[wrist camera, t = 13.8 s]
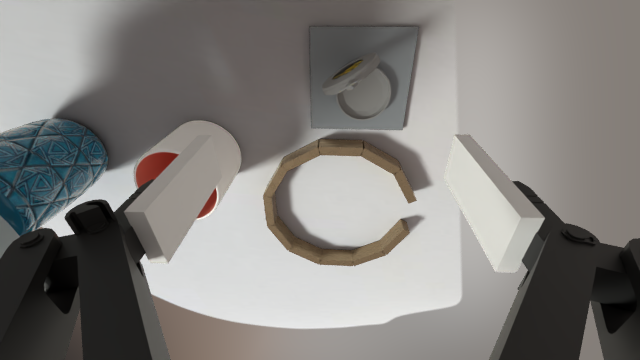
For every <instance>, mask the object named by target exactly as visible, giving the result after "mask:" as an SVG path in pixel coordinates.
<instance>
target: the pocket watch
mask: <svg viewBox="0 0 640 360" xmlns="http://www.w3.org/2000/svg"><path fill="white" fill-rule="evenodd" d="M379 62H380V58H379V56H378V55H377V54H376V53H369V54H366V55H364V56H361V57H359V58H357V59H355V60H353V61H352V62H350V63H349V64H347V65H345V66H344V67H342V68H341V69H339V70H338V71H337V72H335V73H334V74H333V75H332V76H330V77H329V78H328V79H327V80H326V81H325V82H324V84H323V85H322V91H323V92H324V94H325V95H334V94H336V101H337V104H338V106H339V108H340V110H341V111H342V112H343V113H344V114H345V115H346V116H348V117H349V118H352V119H354V120H359V121H363V120H370V119H373V118H375V117H377V116H378V115H380V114H381V113H382V112H383V111H384V110H385V108H386V107H387V106H388V103H389V101H390V98H391V84H390V81H389V79H388V78H387V76H386V75H385V73H384V72H383V71H381V70H380V69H379V68H377V66H378V64H379Z"/></svg>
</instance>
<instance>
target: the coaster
mask: <svg viewBox="0 0 640 360" xmlns="http://www.w3.org/2000/svg"><path fill="white" fill-rule="evenodd" d="M418 29H419V27H343V26H310V27H309V31H310V81H311V128H324V129H370V130H403V123H404V117H405V111H406V105H407V98H408V92H409V86H410V80H411V73H412V67H413V61H414V54H415V48H416V42H417V36H418ZM369 53H376V54H377V55H378V56H379V58H380V62H379V64H378V66H377V68H379V69H380V70H381V71H383V72H384V73H385V75H386V76H387V78H388V79H389V81H390V84H391V98H390V101H389V103H388V106H387V107H386V108H385V110H384V111H383V112H382V113H381V114H380V115H378V116H377V117H375V118H373V119H370V120H363V121H359V120H354V119H352V118H349V117H348V116H346V115H345V114H344V113H343V112H342V111H341V110H340V108H339V106H338V104H337V101H336V94H334V95H325V94H324V92H323V91H322V85H323V84H324V82H325V81H326V80H327V79H328V78H329V77H330V76H332V75H333V74H334V73H335V72H337V71H338V70H339V69H341V68H342V67H344V66H345V65H347V64H349V63H350V62H352V61H353V60H355V59H357V58H359V57H361V56H364V55H366V54H369Z"/></svg>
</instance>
